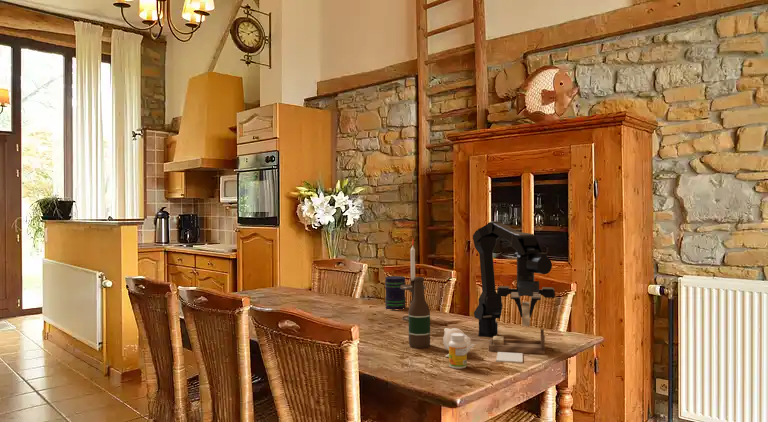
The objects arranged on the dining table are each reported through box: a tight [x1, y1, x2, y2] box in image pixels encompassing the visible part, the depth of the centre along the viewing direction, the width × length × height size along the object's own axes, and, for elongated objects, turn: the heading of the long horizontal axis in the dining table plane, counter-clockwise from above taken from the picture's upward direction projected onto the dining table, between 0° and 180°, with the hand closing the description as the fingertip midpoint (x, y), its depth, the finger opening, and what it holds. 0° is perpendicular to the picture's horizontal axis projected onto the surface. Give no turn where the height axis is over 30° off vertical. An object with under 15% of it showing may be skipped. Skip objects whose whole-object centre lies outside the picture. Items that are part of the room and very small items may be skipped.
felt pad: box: [495, 352, 524, 364], centre depth 176 cm, size 8×10×1 cm
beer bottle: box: [408, 276, 431, 349], centre depth 192 cm, size 8×8×24 cm
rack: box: [488, 328, 546, 355], centre depth 187 cm, size 18×10×6 cm, turn 76°
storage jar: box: [384, 275, 407, 310], centre depth 263 cm, size 10×10×15 cm
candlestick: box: [400, 237, 427, 322], centre depth 237 cm, size 11×11×35 cm
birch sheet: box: [521, 301, 531, 328], centre depth 186 cm, size 2×8×7 cm, turn 166°
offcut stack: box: [492, 335, 505, 345], centre depth 188 cm, size 4×7×2 cm, turn 166°
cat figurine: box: [442, 327, 475, 358], centre depth 181 cm, size 9×11×12 cm
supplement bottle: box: [448, 333, 468, 370], centre depth 167 cm, size 5×5×10 cm
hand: (525, 317), depth 186 cm, fingers closed on birch sheet, 2 cm apart
